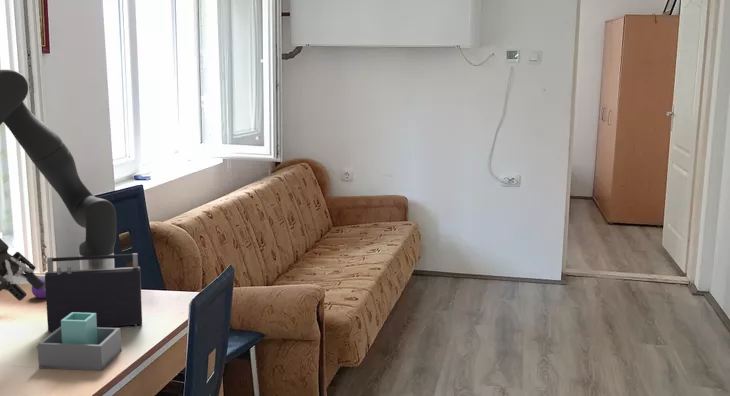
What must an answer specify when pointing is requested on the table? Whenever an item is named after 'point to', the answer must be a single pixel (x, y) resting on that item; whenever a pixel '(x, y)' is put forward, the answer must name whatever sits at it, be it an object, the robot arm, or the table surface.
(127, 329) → the table surface
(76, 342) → the box
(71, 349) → the big crate
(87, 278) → the radio
